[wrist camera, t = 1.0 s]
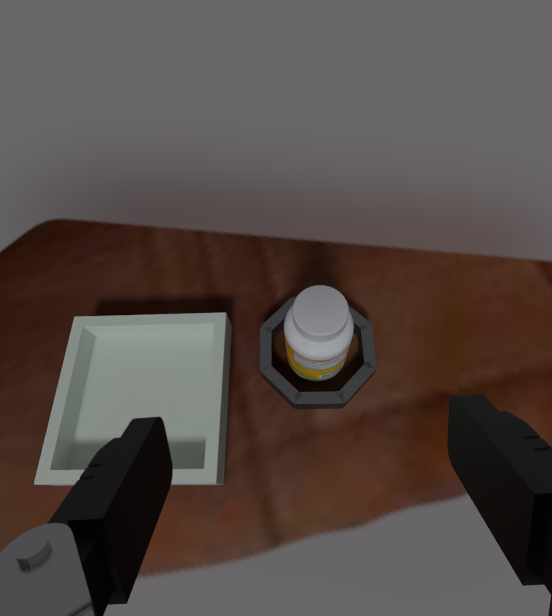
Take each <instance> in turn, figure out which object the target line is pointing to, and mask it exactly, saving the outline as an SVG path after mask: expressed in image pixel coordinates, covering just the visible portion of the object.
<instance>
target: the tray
mask: <svg viewBox="0 0 552 616" xmlns="http://www.w3.org/2000/svg"><path fill="white" fill-rule="evenodd" d="M231 333H232V326H231V323H230V321H229V318H228V316H227V313H192V314H156V315H120V316H84V317H74V321H73V325H72V329H71V333H70V337H69V342H68V346H67V350H66V354H65V358H64V362H63V366H62V370H61V375H60V379H59V383H58V387H57V391H56V395H55V399H54V403H53V407H52V412H51V416H50V420H49V424H48V428H47V432H46V436H45V440H44V444H43V449H42V453H41V457H40V461H39V465H38V469H37V473H36V477H35V482H34V484H37V485H75V483H76V482H77V480H80V476H81V474H82V473H83V472H84V470H85V469H86V468H88V464H89V463H90V462H91V460H92V459H93V457H94V456H95V454H96V453H97V451H98V450H100V449H101V448H102V447H103V446H104V445H106V444H107V443H108V442H109V441H111V440H112V439H113V438H120V437H121V435H122V434H123V432H124V431H125V429H126V428H127V426H128V425H129V423H130V421H131V420H132V419H134V418H147V417H161V418H162V419H163V422H164V425H165V430H166V435H167V440H168V444H169V449H170V454H171V459H172V465H173V476H172V482H171V485H224V473H225V453H226V433H227V413H228V393H229V373H230V353H231Z"/></svg>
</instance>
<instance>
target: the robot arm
mask: <svg viewBox="0 0 552 616" xmlns="http://www.w3.org/2000/svg"><path fill="white" fill-rule="evenodd" d="M448 454H449V458H450V462H451V464H452V467H453V469H454V471H455V472H456V474H457V476H458V477H459V479H460V481H461V482H462V484H463V486H464V487H465V489H466V491H467V492H468V494H469V496H470V498H471V499H472V500H473V502H474V504H475V506H476V507H477V509H478V511H479V513H480V514H481V516H482V518H483V519H484V521H485V523H486V524H487V526H488V528H489V529H490V531H491V533H492V534H493V536H494V538H495V540H496V541H497V543H498V545H499V546H500V548H501V550H502V551H503V553H504V555H505V556H506V558H507V560H508V561H509V563H510V565H511V566H512V568H513V570H514V571H515V573H516V575H517V576H518V578H519V580H520V581H521V583H522V585H523V586H524V585H542V584H544V585H545V586H546V588H547V589H548V590H549V592H550V594H551V601H550V608H549V616H552V449H551V446H549V445H548V444H547V443H546V442H545V441H544V440H543V439H540V436H539V435H538V434H537V433H536V432H535V431H534V430H533V429H532V428H531V427H530V426H529V425H528V424H527V423H526V422H525V421H523V420H521V419H519V418H517V417H516V416H514V415H512V414H510V413H508V412H507V411H503V412H499V411H498V410H497V409H496V408H495V407H494V406H493V405H492V404H491V402H490V401H489V400H488V399H487V398H486V397H485V396H484V395H482V394H474V395H461V396H452V397H451V399H450V402H449V421H448ZM172 476H173V465H172V459H171V454H170V449H169V444H168V440H167V435H166V430H165V425H164V422H163V419H162V418H161V417H147V418H134V419H132V420H131V421H130V423H129V425H128V426H127V428H126V429H125V431H124V432H123V434H122V435H121V437H120V438H113V439H112V440H111V441H109V442H108V443H107V444H106V445H104V446H103V447H102V448H101V449H100V450H98V451H97V453H96V454H95V456H94V457H93V459H92V460H91V462H90V463H89V464H88V468H86V469H85V470H84V472H83V473H82V474H81V476H80V480H77V482H76V483H75V485H74V486H73V487H72V489H71V490H70V492H69V493H68V495H67V496H66V498H65V499H64V500H63V502H62V503H61V505H60V506H59V508H58V509H57V511H56V512H55V513H54V515H53V516H52V518H51V519H50V521H49V522H48V524H45V525H41V526H38V527H36V528H33V529H31V530H29V531H27V532H25V533H24V534H22V535H20V536H19V537H17V538H16V539H15V540H13V541H12V542H11V543H10V544H9V545H8V546H7V547H6V548H5V549H4V550H3V551H2V552H1V553H0V616H103V614H104V612H105V610H106V607H107V605H109V604H127V602H128V599H129V596H130V594H131V591H132V588H133V586H134V583H135V580H136V578H137V575H138V572H139V569H140V567H141V564H142V561H143V559H144V556H145V553H146V551H147V548H148V545H149V543H150V540H151V537H152V535H153V532H154V529H155V527H156V524H157V521H158V519H159V516H160V513H161V510H162V508H163V505H164V502H165V500H166V497H167V494H168V492H169V489H170V486H171V482H172Z"/></svg>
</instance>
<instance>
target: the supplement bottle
mask: <svg viewBox="0 0 552 616" xmlns="http://www.w3.org/2000/svg"><path fill="white" fill-rule="evenodd" d="M353 331H354V324H353V318H352V316H351V313H350V311H349V308H348V304H347V301H346V299H345V298H344V296H343V295H342V294H341V293H340V292H339V291H337V290H336V289H334V288H332V287H329V286H324V285H316V286H311V287H309V288H306V289H305V290H303V291H302V292H301V293H300V294H299V295H298V296H297V297H296V299H295V301H294V304H293V305H292V306H291V308H290V309H289V311H288V312H287V315H286V317H285V322H284V333H285V343H286V352H287V358H288V361H289V364H290V366H291V368H292V369H293V370H294V372H295V373H297V374H298V375H299V376H301V377H302V378H304V379H307V380H310V381H324V380H327V379H330V378H332V377H333V376H335V375H336V374H337V373H338V372H339V371H340V370H341V368H342V367H343V365H344V362H345V359H346V356H347V353H348V349H349V346H350V343H351V340H352V336H353Z"/></svg>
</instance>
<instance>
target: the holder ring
mask: <svg viewBox="0 0 552 616" xmlns="http://www.w3.org/2000/svg"><path fill="white" fill-rule="evenodd" d="M295 299H296V297H293V298H292V297H291V298H290V299H289V300H288V301H287V302H286V303H285V304H284V305H283V306H282V307H281V308H280V309H279V310H278V311H277V312H275V313H274V314H273V315H272V316H271V317H270V318H269V319H268V320H267V321H266V322H265V323H264V324H263V325H262V326H261V329H260V372H261V375H262V377H263V378H264V379H265V380H266V381H267V382H268V383H269V384H270V385H271V386H272V387H273V388H274V389H275V390H276V391H277V392H278V393H279V394H280V395H281V396H282V397H283V398H284V399H285V400H286V401H287V402H288V403H289V404H290V405H291V406H292V407H293V408H295V407H296V409H333V408H342V407H344V406H345V405H346V404H347V403H348V402H349V401H350V400H351V399H352V397H353V396H354V395H355V394H356V393H357V392H358V391H359V390H360V389H361V388H362V386H363V385H364V384H365V383H366V382H367V381H368V380H369V379H370V378H371V377H372V375H373V374H374V372H375V370H376V368H377V365H376V357H375V348H374V340H373V332H372V324H371V323H370V322H369V321H368V320H366V319H365V318H364V317H363V316H361V315H360V314H359V313H358V312H356V311H355V310H354V309H353V308H351V307H350V306H349V305H348V308H349V311H350V313H351V316H352V318H353V324H354V331H353V333H354V334H356V335H357V336H358V343H359V353H360V363H361V368H360V369H359V370H358V371H357V372H356V374H355V375H354V376H353V377H352V378H351V379H350V380H349V381H348V382H347V383H346V384H345V385H344V387H343V388H342V389H341V390H340V391H334V392H299V391H298V390H296V389H295V388H294V387H293V386H292V385H291V384H290V383H289V382H288V381H287V380H286V379H285V378H284V377H283V376H282V375H281V374H280V373H279V372H278V371H276V370H275V369H274V368H273V338H274V337H275V336H276V335H277V334H278V333H279V332H280V331H281V330H282V329H283V328H284V322H285V317H286V315H287V312H288V311H289V309H290V308H291V306H292V305H293V304H294V301H295Z"/></svg>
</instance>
